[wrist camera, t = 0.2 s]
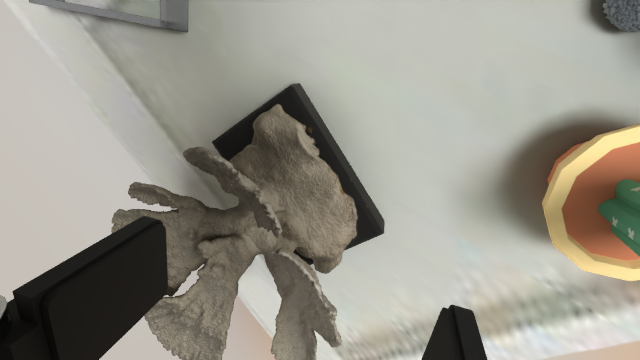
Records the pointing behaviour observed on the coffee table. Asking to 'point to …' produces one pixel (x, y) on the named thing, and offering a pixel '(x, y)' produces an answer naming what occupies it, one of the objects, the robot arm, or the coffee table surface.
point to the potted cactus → (598, 204)
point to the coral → (260, 230)
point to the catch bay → (170, 15)
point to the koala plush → (623, 14)
